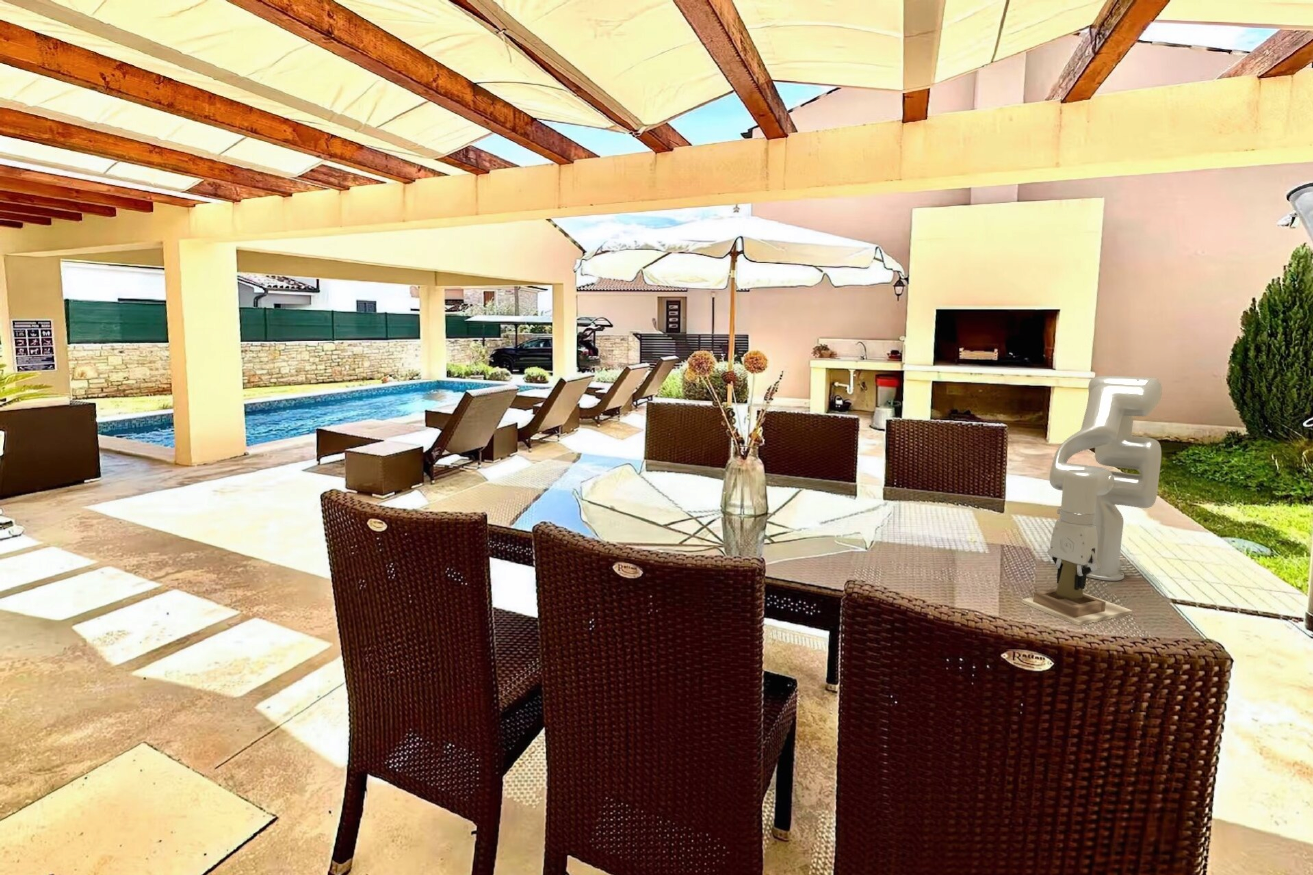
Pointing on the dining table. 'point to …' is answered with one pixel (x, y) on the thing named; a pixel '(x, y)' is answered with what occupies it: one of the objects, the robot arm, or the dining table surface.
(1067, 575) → the cork
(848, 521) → the dining table surface
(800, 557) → the dining table surface
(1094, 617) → the socket stand
